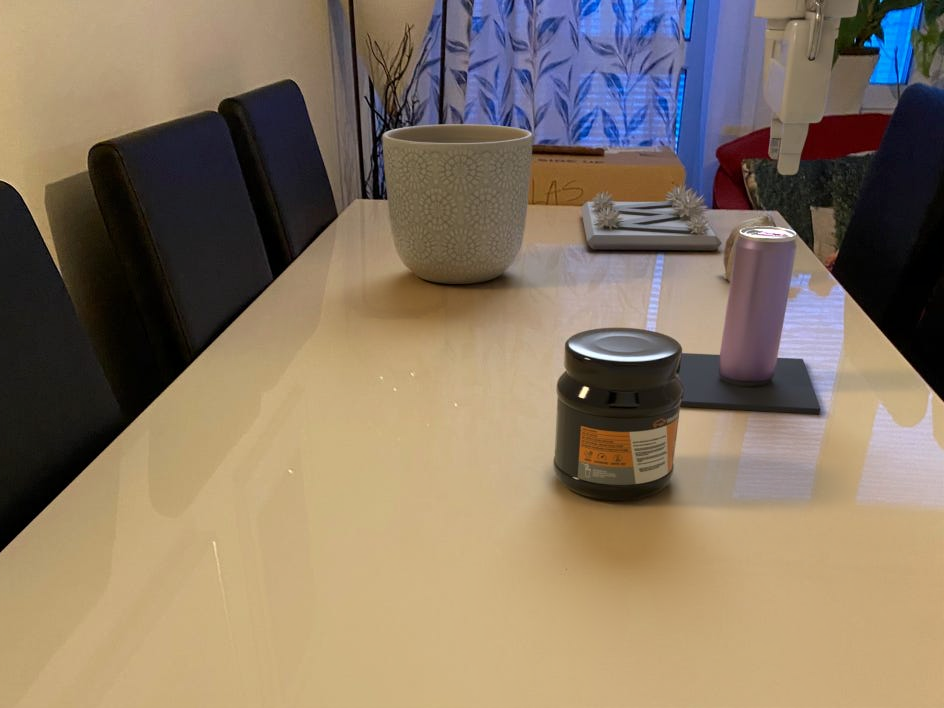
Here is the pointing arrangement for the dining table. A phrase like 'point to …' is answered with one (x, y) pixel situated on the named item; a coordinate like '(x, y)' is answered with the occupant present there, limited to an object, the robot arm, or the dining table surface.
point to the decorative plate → (649, 224)
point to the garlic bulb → (761, 221)
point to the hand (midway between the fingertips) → (781, 165)
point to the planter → (457, 198)
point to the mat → (779, 395)
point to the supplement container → (618, 413)
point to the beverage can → (756, 305)
